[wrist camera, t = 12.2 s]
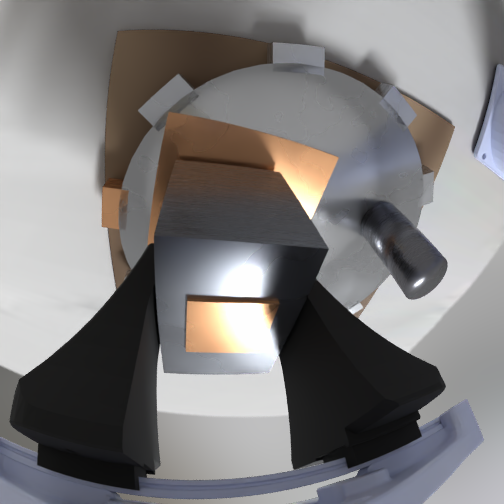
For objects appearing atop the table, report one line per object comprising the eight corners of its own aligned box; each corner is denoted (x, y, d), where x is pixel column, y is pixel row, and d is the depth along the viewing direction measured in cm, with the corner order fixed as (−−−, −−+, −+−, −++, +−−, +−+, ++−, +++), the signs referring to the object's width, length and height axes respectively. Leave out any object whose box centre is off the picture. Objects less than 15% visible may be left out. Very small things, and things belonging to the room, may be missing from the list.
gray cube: (280, 172, 10) (330, 252, 6) (250, 284, 14) (269, 375, 10) (175, 159, 9) (153, 238, 5) (170, 280, 13) (164, 375, 9)
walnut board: (452, 125, 11) (455, 126, 11) (353, 320, 21) (354, 323, 21) (119, 31, 7) (117, 31, 7) (123, 316, 17) (122, 319, 17)
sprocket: (352, -9, 7) (438, -31, 2) (435, 249, 17) (477, 301, 13) (47, 207, 11) (-6, 281, 6) (240, 357, 21) (250, 419, 17)
